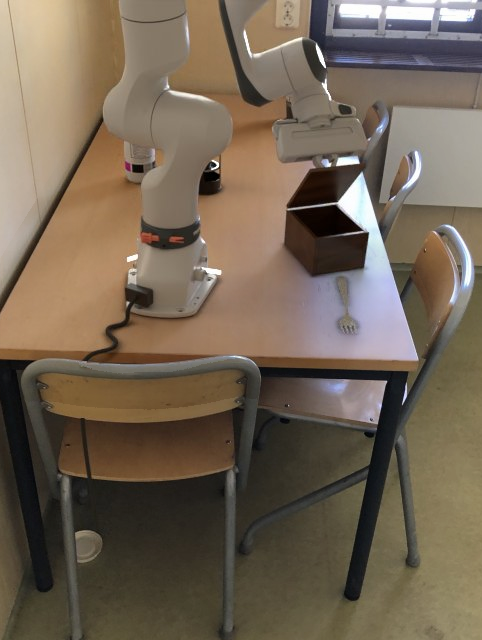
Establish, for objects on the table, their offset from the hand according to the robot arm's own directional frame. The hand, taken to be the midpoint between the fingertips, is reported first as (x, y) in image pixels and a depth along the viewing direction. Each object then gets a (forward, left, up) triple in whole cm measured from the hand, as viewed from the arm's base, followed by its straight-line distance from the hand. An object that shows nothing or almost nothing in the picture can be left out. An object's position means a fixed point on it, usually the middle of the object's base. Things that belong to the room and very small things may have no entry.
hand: (329, 176), depth 149 cm
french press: (+34, +32, -19) cm, 50 cm away
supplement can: (+37, +50, -19) cm, 65 cm away
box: (-1, 0, -19) cm, 19 cm away
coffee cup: (+97, +9, -19) cm, 99 cm away
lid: (+1, +1, -3) cm, 3 cm away
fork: (-22, -5, -19) cm, 30 cm away
